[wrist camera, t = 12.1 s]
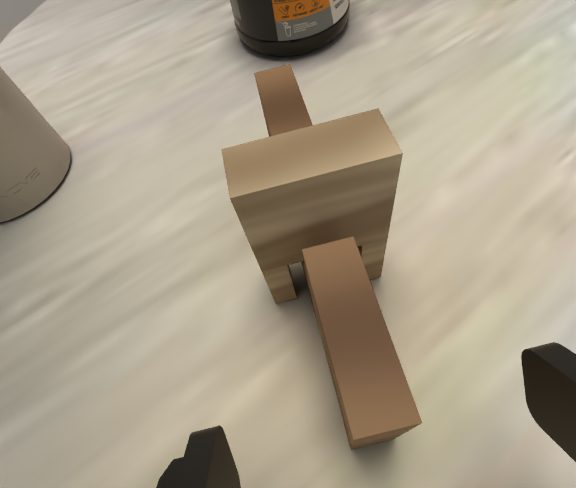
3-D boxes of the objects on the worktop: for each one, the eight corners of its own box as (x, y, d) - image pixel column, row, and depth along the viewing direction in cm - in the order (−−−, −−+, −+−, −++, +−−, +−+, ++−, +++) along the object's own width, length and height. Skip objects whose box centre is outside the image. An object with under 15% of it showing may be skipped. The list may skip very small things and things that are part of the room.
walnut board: (394, 438, 16) (422, 422, 10) (350, 449, 16) (353, 440, 10) (303, 156, 26) (290, 63, 20) (275, 163, 26) (254, 73, 20)
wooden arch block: (380, 276, 20) (402, 153, 12) (276, 303, 20) (230, 198, 12) (366, 241, 22) (378, 108, 14) (267, 267, 22) (221, 149, 14)
